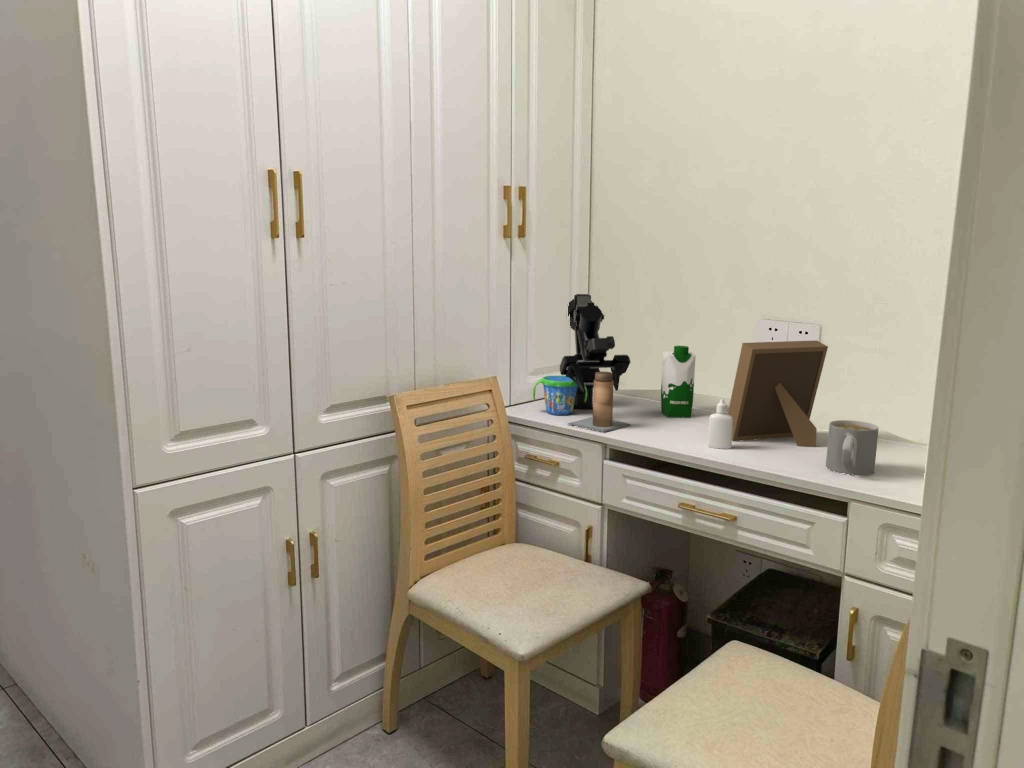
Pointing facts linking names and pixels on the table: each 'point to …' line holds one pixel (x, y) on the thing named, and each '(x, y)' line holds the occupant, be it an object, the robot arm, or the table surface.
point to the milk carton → (677, 382)
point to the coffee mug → (852, 447)
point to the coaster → (589, 425)
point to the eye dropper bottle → (720, 428)
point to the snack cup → (559, 394)
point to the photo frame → (776, 390)
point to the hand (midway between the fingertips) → (600, 390)
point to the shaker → (603, 399)
